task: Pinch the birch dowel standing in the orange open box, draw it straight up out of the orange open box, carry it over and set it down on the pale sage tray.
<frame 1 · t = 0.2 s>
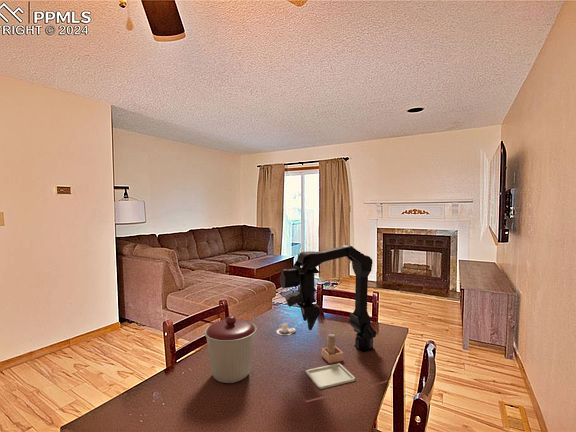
hand: (307, 325, 120), 14 cm above the table, fingers open, 9 cm apart
teacup and saucer: (287, 335, 145), on the table
canister: (231, 375, 111), on the table
dowel: (331, 358, 122), resting on orange open box
tray: (330, 377, 109), on the table
orange open box: (332, 359, 122), on the table
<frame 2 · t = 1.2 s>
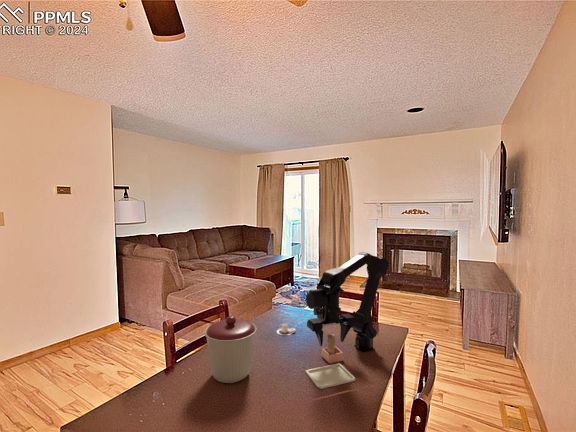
hand: (331, 343, 122), 6 cm above the table, fingers open, 9 cm apart
nothing on the table moved.
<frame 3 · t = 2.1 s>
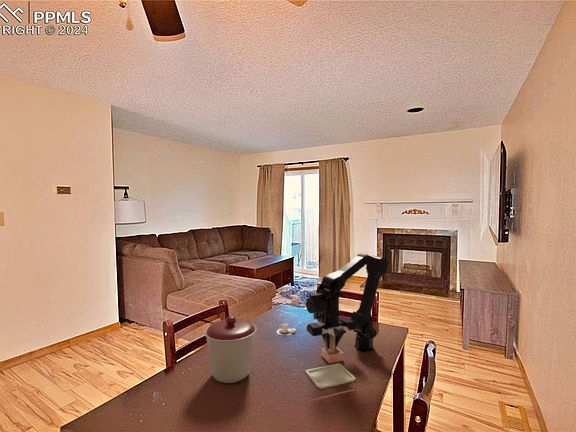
hand: (331, 348, 122), 5 cm above the table, fingers closed on dowel, 3 cm apart
dowel: (331, 358, 122), point 1 cm above the table, touching orange open box, gripper
everything else where it was.
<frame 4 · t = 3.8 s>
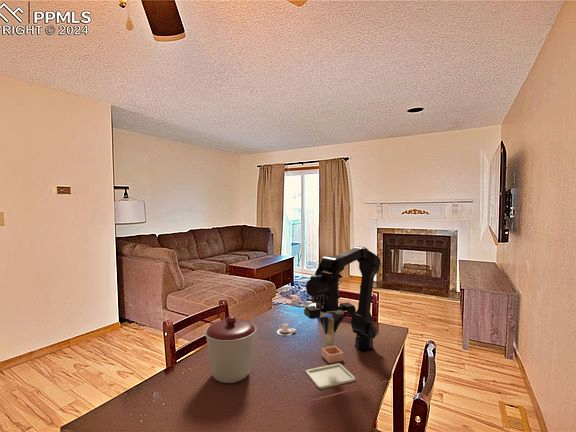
hand: (329, 333, 115), 13 cm above the table, fingers closed on dowel, 3 cm apart
dowel: (329, 343, 115), point 9 cm above the table, touching gripper
everything else where it was.
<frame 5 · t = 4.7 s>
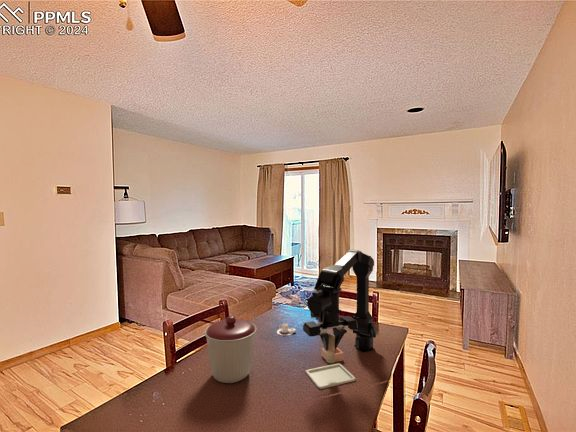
hand: (330, 349, 109), 10 cm above the table, fingers closed on dowel, 3 cm apart
dowel: (330, 360, 109), point 6 cm above the table, touching gripper
everything else where it was.
when the fingers open (6 cm above the table, at t = 5.6 s): dowel drops 1 cm, resting on tray.
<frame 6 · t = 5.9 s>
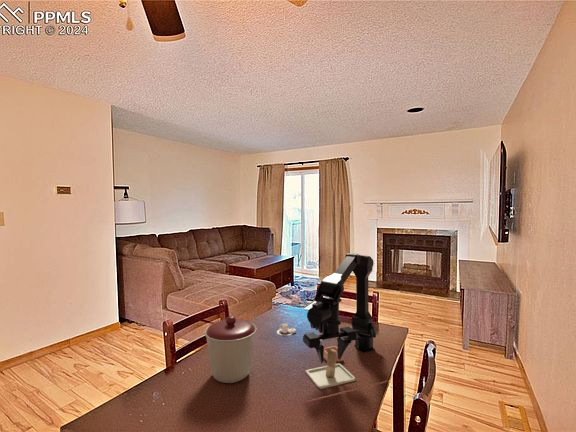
hand: (330, 360, 109), 6 cm above the table, fingers open, 7 cm apart
dowel: (330, 375, 109), point 1 cm above the table, tilted 5°, touching tray
everything else where it was.
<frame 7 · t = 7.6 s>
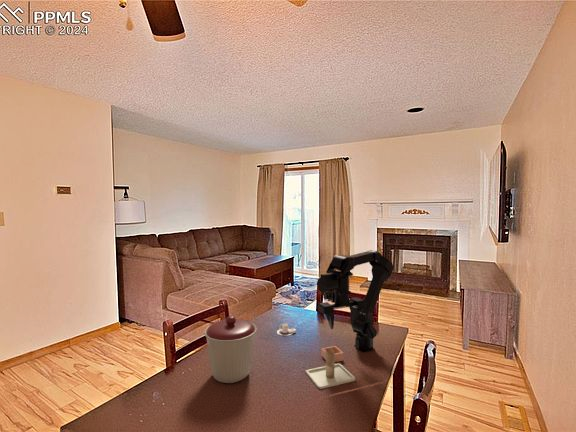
hand: (341, 326, 123), 12 cm above the table, fingers open, 9 cm apart
nothing on the table moved.
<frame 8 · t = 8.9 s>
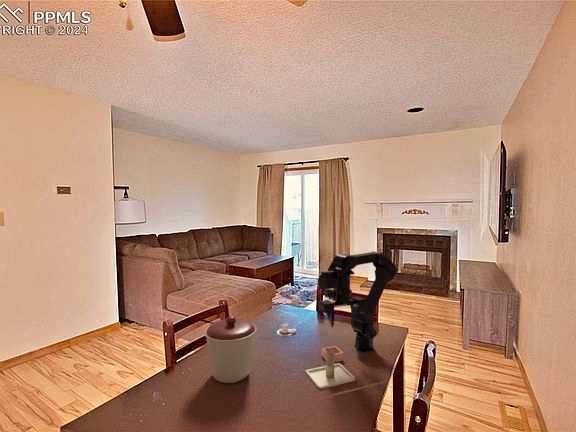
hand: (342, 325, 124), 13 cm above the table, fingers open, 9 cm apart
nothing on the table moved.
at the end: dowel inside the target area on the tray (0.1 cm from its centre), point 0.5 cm above the tray's base; the gripper is holding nothing; dowel touching tray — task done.
